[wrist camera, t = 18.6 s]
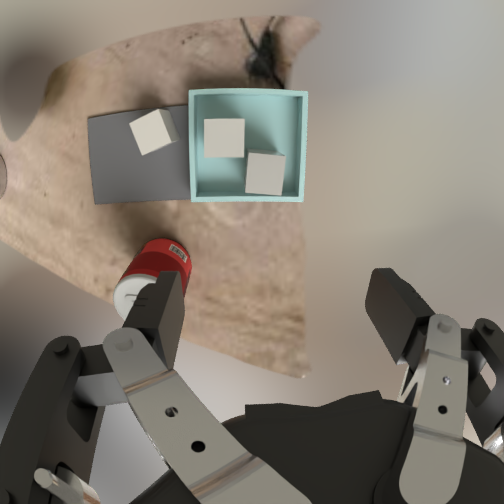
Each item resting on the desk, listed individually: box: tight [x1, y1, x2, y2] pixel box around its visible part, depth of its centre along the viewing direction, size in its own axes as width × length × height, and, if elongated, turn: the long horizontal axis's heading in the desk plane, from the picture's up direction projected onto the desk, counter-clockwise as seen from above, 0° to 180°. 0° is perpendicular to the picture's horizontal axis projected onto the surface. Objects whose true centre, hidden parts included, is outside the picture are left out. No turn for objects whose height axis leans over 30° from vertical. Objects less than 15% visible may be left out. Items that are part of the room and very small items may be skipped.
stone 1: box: [129, 109, 180, 155], centre depth 29 cm, size 4×4×5 cm
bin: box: [189, 88, 308, 202], centre depth 32 cm, size 13×13×3 cm
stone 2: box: [204, 119, 245, 158], centre depth 30 cm, size 4×4×6 cm
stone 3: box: [244, 148, 286, 196], centre depth 31 cm, size 4×4×6 cm
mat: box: [88, 105, 191, 204], centre depth 33 cm, size 14×12×1 cm
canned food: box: [113, 238, 192, 320], centre depth 35 cm, size 8×8×11 cm
